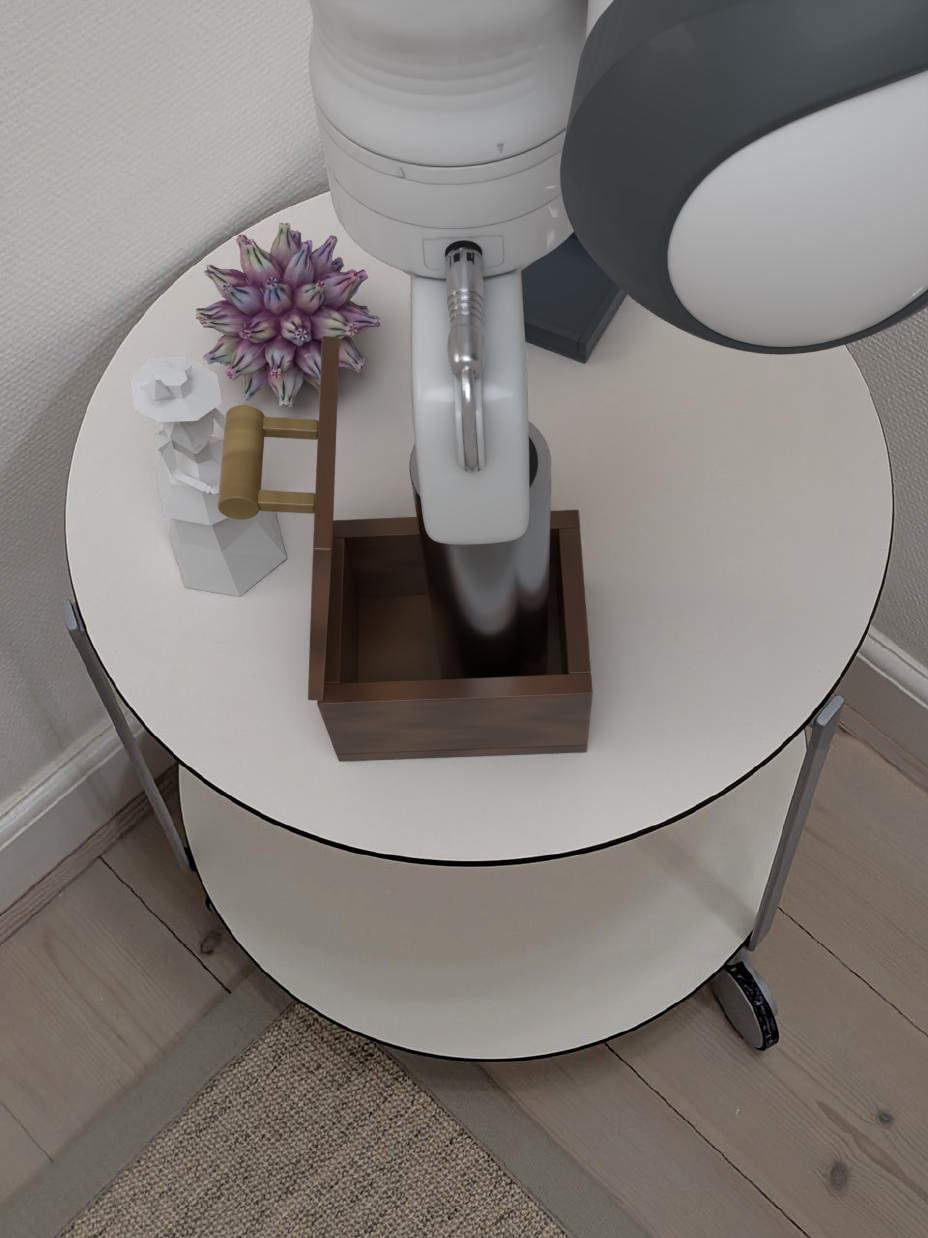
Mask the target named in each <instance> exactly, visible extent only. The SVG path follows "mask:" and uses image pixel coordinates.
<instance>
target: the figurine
mask: <svg viewBox="0 0 928 1238" xmlns="http://www.w3.org/2000/svg"><path fill="white" fill-rule="evenodd" d="M130 388H131V396H132V404H133V410H134V411H135V412H137V413H139V414H141V415H143V416H145V417H147V418H149V419H151V420H153V421H155V422H157V423H162V430H160V431H158V432H156V433H155V434H153V435H152V439H153V441H154V444H155V446H156V449H157V450H158V451H159V453H160V456H159V458H158V459H157V461H156V463H155V464H154V465H153V467H152V468H153V474H154V478H155V482H156V487H157V492H158V498H159V503H160V508H161V512H162V518H165V519H169V524H168V536H169V540H170V543H171V546H172V549H173V553H174V556H175V559H176V563H177V566H178V569H179V572H180V576H181V579H182V582H183V587H184V588H187V589H192V590H199V591H204V592H209V593H215V594H222V595H228V596H232V597H233V596H234V597H239V598H240V597H241V596H243V595H244V594H245V593H246V592H248V591H249V590H250V589H251V588H252V587H254V586H255V585H256V584H258V583H259V582H260V581H261V580H262V579H264V577H266V576H267V575H268V574H269V573H271V572H272V571H273V570H274V569H276V568H277V567H278V566H279V565H281V564H282V563H283V562H284V561H285V560H286V559H287V558H288V557H287V553H286V550H285V546H284V542H283V539H282V535H281V531H280V527H279V524H278V523H279V522H278V519H277V516H276V512H271V511H259V512H258V514H257V515H256V516H254V517H252V518H249V519H243V520H239V519H232V518H229V517H227V516H225V515H223V514H222V513H221V512H220V511H219V509H218V497H219V486H220V474H221V463H222V451H223V440H224V438H221V437H216V436H213V433H214V429H215V423H216V424H217V425H218V427H220V429H222V431H224V428H225V417H226V416H224V414H223V413H222V412H221V411H220V409H217V407H218V406H219V405H221V404H223V400H222V394H221V388H220V384H219V378H218V374H217V373H216V372H214V371H212V370H210V369H209V368H208V367H206V366H204V365H202V364H201V363H200V362H198V361H196V360H195V359H194V358H191V357H189V356H188V355H180V356H168V357H166V356H165V357H164V356H163V355H161V357H154V358H148V359H147V360H146V361H145V362H144V363H143V364H142V365H141V366H140V367H139V369H138V370H137V371H136V372H135V374H134V375H133V376H132V377H131V378H130ZM214 421H215V422H214Z"/></svg>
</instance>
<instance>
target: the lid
mask: <svg viewBox="0 0 928 1238" xmlns="http://www.w3.org/2000/svg"><path fill="white" fill-rule="evenodd" d="M339 343H340V339H339V337H332V336H323V337H322V350H321V373H320V393H319V395H318V396H319V397H318V398H319V399H318V419H309V418H296V417H295V418H294V417H293V418H292V417H277V416H266V415H265V414H264V412H263V411H262V410H260V409H259V408H257V407H255V406H251V405H248V404H241V405H235V406H232V407H231V408H229V409H228V410H227V411H226V413H225V416H224V417H225V428H224V430H223V451H222V463H221V474H220V486H219V497H218V509H219V511H220V512H221V513H222V514H223V515H225V516H227V517H229V518H232V519H239V520H243V519H249V518H252V517H254V516H256V515H257V514H258V512H259V511H271V512H275V513H292V514H293V513H294V514H309V515H310V514H312V515H313V536H312V537H313V539H312V561H311V562H312V563H311V590H310V591H311V593H310V619H309V622H310V625H309V647H308V648H309V649H308V650H309V651H308V682H307V700H308V701H317V700H319V701H322V700H323V695H324V679H325V662H326V646H327V629H328V613H329V596H330V580H331V563H332V545H333V520H334V517H335V516H334V514H335V487H336V486H335V484H336V458H337V457H336V456H337V455H336V454H337V429H338V427H337V424H338V399H339V371H340V370H339V369H340V367H339ZM265 438H276V439H277V438H278V439H293V440H295V439H296V440H310V441H311V440H313V441H316V440H317V441H316V442H317V444H316V467H315V468H316V469H315V492H304V491H286V490H285V491H284V490H264V489H262V480H263V479H262V478H263V477H262V476H263V465H264V463H263V462H264V450H265V449H264V447H265Z"/></svg>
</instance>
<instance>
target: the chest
mask: <svg viewBox="0 0 928 1238" xmlns="http://www.w3.org/2000/svg"><path fill="white" fill-rule="evenodd" d="M580 524H581V521H580V510H579V509H561V510H559V509H558V510H551V515H550V561H549V607H548V653H547V667H546V671H545V674H544V675H539V676H514V677H489V678H463V679H443V676H442V674H441V670H440V665H439V659H438V652H437V646H436V639H435V633H434V626H433V620H432V613H431V607H430V600H429V594H428V587H427V581H426V574H425V568H424V561H423V555H422V548H421V542H420V535H419V529H418V523H417V516H402V517H401V516H400V517H381V518H380V517H379V518H378V517H377V518H376V517H375V518H355V519H336V520H335V519H333V545H332V563H331V580H330V596H329V613H328V629H327V646H326V662H325V679H324V695H323V700H322V701H319V700H316V705H317V708H318V711H319V713H320V716H321V718H322V721H323V723H324V726H325V729H326V732H327V734H328V737H329V739H330V742H331V745H332V748H333V751H334V753H335V755H336V758H337V760H338V762H362V761H363V762H364V761H365V762H366V761H386V760H391V761H392V760H414V759H415V760H416V759H442V758H443V759H445V758H465V757H466V758H467V757H469V758H470V757H471V758H472V757H496V756H520V755H521V756H522V755H525V756H526V755H547V754H548V755H549V754H552V755H553V754H577V753H578V754H579V753H587V751H588V743H589V734H590V723H591V713H592V703H593V679H592V669H591V668H592V666H591V655H590V654H591V653H590V642H589V628H588V626H589V625H588V616H587V603H586V602H587V600H586V587H585V574H584V573H585V572H584V560H583V547H582V535H581V534H582V533H581V525H580Z"/></svg>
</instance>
